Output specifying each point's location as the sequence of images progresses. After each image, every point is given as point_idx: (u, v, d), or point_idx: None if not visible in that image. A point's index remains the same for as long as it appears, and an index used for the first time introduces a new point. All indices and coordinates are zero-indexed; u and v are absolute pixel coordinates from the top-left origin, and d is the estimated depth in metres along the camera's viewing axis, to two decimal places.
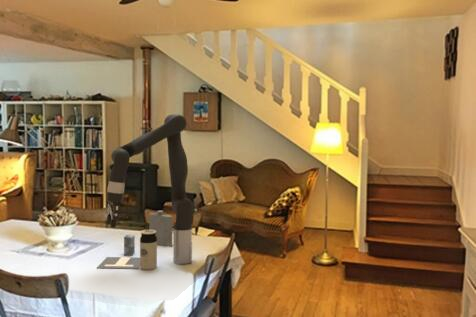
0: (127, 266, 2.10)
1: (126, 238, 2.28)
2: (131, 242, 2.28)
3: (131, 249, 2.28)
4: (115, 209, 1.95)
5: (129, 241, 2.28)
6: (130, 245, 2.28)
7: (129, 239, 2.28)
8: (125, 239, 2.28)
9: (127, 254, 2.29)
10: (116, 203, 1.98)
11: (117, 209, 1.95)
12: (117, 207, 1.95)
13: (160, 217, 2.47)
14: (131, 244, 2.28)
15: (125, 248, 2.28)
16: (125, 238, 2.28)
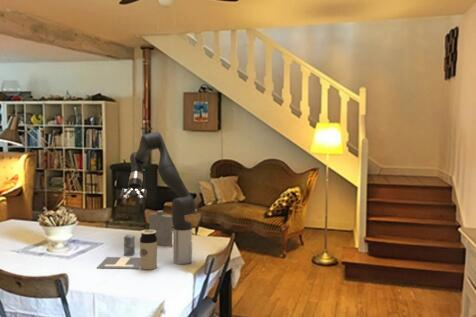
0: (127, 266, 2.10)
1: (126, 238, 2.28)
2: (131, 242, 2.28)
3: (131, 249, 2.28)
4: None
5: (129, 241, 2.28)
6: (130, 245, 2.28)
7: (129, 239, 2.28)
8: (125, 239, 2.28)
9: (127, 254, 2.29)
10: (128, 187, 2.47)
11: None
12: None
13: (160, 217, 2.47)
14: (131, 244, 2.28)
15: (125, 248, 2.28)
16: (125, 238, 2.28)
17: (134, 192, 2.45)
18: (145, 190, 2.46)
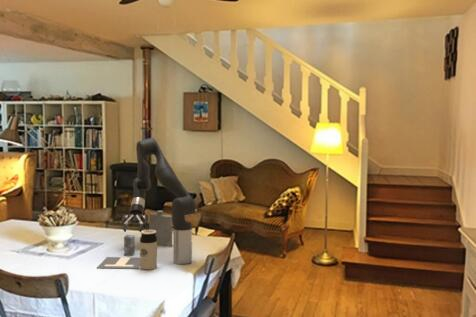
0: (127, 266, 2.10)
1: (126, 238, 2.28)
2: (131, 242, 2.28)
3: (131, 249, 2.28)
4: None
5: (129, 241, 2.28)
6: (130, 245, 2.28)
7: (129, 239, 2.28)
8: (125, 239, 2.28)
9: (127, 254, 2.29)
10: None
11: None
12: None
13: (160, 217, 2.47)
14: (131, 244, 2.28)
15: (125, 248, 2.28)
16: (125, 238, 2.28)
17: (135, 218, 2.41)
18: (146, 216, 2.42)
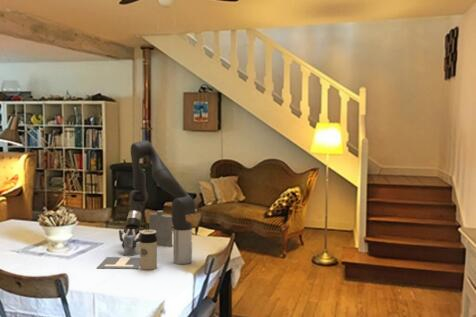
0: (127, 266, 2.10)
1: (126, 238, 2.28)
2: (131, 242, 2.28)
3: (131, 249, 2.28)
4: None
5: (129, 241, 2.28)
6: (130, 245, 2.28)
7: (129, 239, 2.28)
8: (125, 239, 2.28)
9: (127, 254, 2.28)
10: None
11: (119, 233, 2.34)
12: None
13: (160, 217, 2.47)
14: (131, 244, 2.28)
15: (125, 248, 2.28)
16: (125, 238, 2.28)
17: (130, 232, 2.33)
18: None
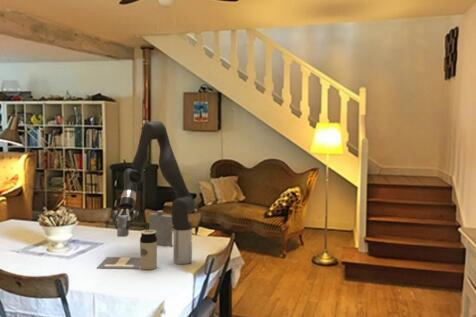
0: (127, 266, 2.10)
1: (119, 218, 2.14)
2: (125, 222, 2.14)
3: (125, 230, 2.14)
4: None
5: (123, 221, 2.14)
6: (124, 226, 2.14)
7: (122, 219, 2.14)
8: (118, 219, 2.14)
9: (120, 235, 2.15)
10: None
11: None
12: None
13: (160, 217, 2.47)
14: (125, 224, 2.14)
15: (118, 229, 2.14)
16: (118, 218, 2.14)
17: (124, 212, 2.19)
18: (136, 212, 2.19)
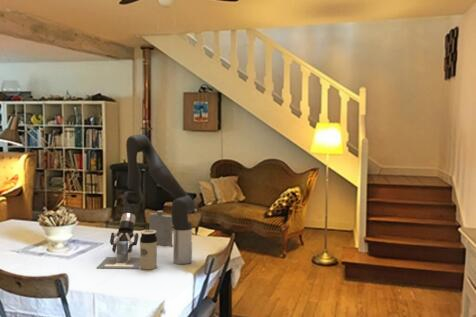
0: (127, 266, 2.10)
1: (119, 244, 2.14)
2: (124, 248, 2.14)
3: (124, 256, 2.14)
4: None
5: (122, 247, 2.14)
6: (123, 252, 2.14)
7: (122, 246, 2.14)
8: (118, 245, 2.14)
9: (120, 261, 2.15)
10: None
11: None
12: None
13: (160, 217, 2.47)
14: (124, 251, 2.14)
15: (118, 255, 2.14)
16: (118, 244, 2.14)
17: (124, 237, 2.19)
18: (136, 235, 2.20)
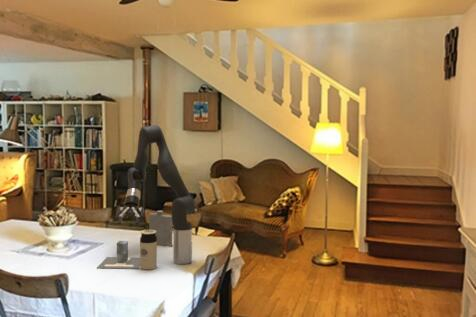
0: (127, 266, 2.10)
1: (119, 244, 2.14)
2: (124, 248, 2.14)
3: (124, 256, 2.14)
4: None
5: (122, 247, 2.14)
6: (123, 252, 2.14)
7: (122, 246, 2.14)
8: (118, 245, 2.14)
9: (120, 261, 2.15)
10: (124, 205, 2.32)
11: (117, 209, 2.31)
12: None
13: (160, 217, 2.47)
14: (124, 251, 2.14)
15: (118, 255, 2.14)
16: (118, 244, 2.14)
17: (131, 211, 2.30)
18: (142, 209, 2.31)
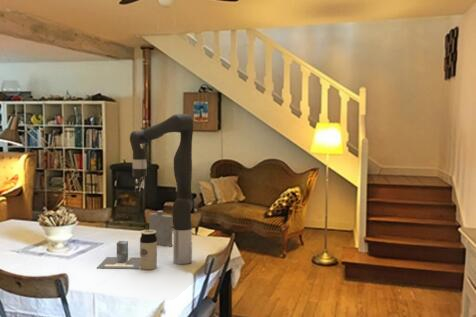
0: (127, 266, 2.10)
1: (119, 244, 2.14)
2: (124, 248, 2.14)
3: (124, 256, 2.14)
4: (135, 182, 2.28)
5: (122, 247, 2.14)
6: (123, 252, 2.14)
7: (122, 246, 2.14)
8: (118, 245, 2.14)
9: (120, 261, 2.15)
10: (138, 177, 2.31)
11: (137, 182, 2.28)
12: (137, 180, 2.28)
13: (160, 217, 2.47)
14: (124, 251, 2.14)
15: (118, 255, 2.14)
16: (118, 244, 2.14)
17: (141, 183, 2.35)
18: (144, 179, 2.41)
